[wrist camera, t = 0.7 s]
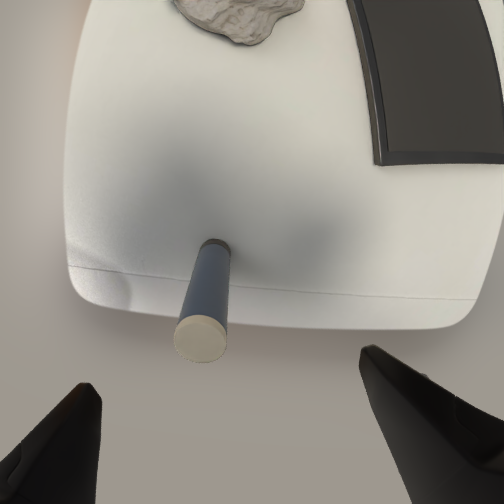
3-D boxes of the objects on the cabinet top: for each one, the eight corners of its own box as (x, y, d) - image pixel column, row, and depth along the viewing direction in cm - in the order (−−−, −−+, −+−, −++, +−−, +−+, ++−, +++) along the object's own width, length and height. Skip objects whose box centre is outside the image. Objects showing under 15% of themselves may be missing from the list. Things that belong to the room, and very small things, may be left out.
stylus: (236, 250, 21) (237, 340, 11) (219, 272, 21) (208, 370, 12) (210, 232, 20) (190, 313, 11) (193, 256, 21) (164, 347, 11)
